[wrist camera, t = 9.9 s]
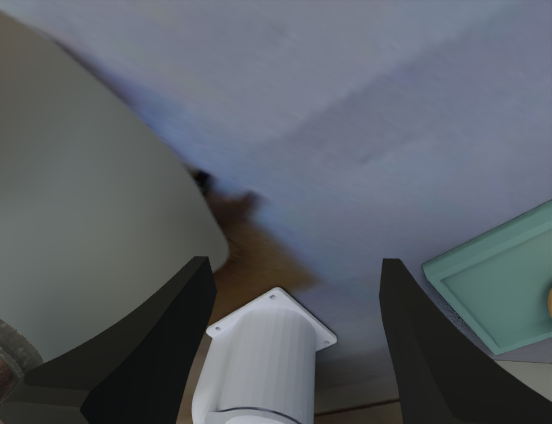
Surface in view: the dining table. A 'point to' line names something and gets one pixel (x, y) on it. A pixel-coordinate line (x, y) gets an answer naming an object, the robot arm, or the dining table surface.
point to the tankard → (15, 358)
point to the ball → (550, 302)
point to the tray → (501, 281)
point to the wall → (532, 375)
